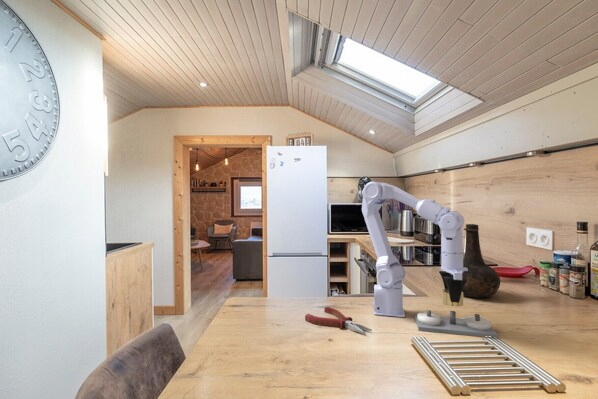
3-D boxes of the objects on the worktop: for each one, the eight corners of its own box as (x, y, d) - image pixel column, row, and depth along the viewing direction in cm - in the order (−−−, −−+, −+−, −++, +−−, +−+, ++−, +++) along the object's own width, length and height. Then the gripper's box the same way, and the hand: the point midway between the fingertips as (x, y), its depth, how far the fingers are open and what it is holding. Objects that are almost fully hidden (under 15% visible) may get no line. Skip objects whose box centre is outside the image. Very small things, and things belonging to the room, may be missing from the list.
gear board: (418, 330, 86) (418, 314, 86) (414, 317, 96) (414, 303, 96) (497, 338, 81) (497, 321, 81) (485, 323, 91) (485, 308, 91)
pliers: (356, 342, 80) (356, 332, 80) (303, 322, 94) (303, 313, 94) (379, 330, 88) (379, 321, 88) (327, 312, 102) (327, 305, 102)
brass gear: (444, 305, 87) (444, 293, 87) (440, 300, 92) (440, 288, 92) (465, 307, 85) (465, 294, 85) (460, 301, 91) (460, 289, 91)
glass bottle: (496, 291, 124) (495, 223, 124) (504, 305, 108) (503, 226, 108) (448, 286, 131) (447, 222, 132) (448, 298, 115) (448, 225, 116)
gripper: (474, 257, 81) (475, 308, 81) (460, 249, 95) (461, 292, 95) (445, 256, 83) (446, 305, 83) (436, 248, 97) (436, 291, 97)
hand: (452, 298), depth 89 cm, fingers closed on brass gear, 5 cm apart
